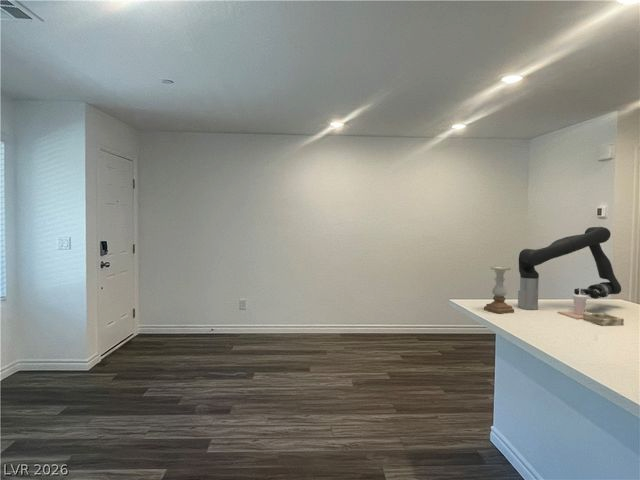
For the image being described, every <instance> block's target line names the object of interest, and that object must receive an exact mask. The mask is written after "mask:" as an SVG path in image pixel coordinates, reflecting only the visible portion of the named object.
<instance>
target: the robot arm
mask: <svg viewBox="0 0 640 480" xmlns="http://www.w3.org/2000/svg"><path fill="white" fill-rule="evenodd" d="M610 238H611V231H610V230H609V228H607V227H604V226H593V227H592V226H591V227H588V228H586V230H585V231H584V233H582V234H575V235H569V236H566V237H562V238H559V239H556V240H555V241H553V242H552V243H550V244H549V245H547V246H546V247H541V248H536V249H533V248H532V249H531V248H524V249H522V250H521V251H519V254H518V273H519V275H520V277H519V280H520V281H519V282H520V283H519V290H517V292H518V293H517V307H518V308H520V309H523V310H538V309H539V283H540V282H539V281H540V280H539V279H540V278H539V276H540V275H539V272H538V271H537V270H536V268H535V267H536V266H539V265H541V264H543V263H546V262H547V261H550V260H553V259H556V258H559V257H562V256H567V255H569V254H572V253H575V252H577V251H580V250H582V249H586V248H587V247H588V248H589V250H590V252H591V255H592V257H593V260H594V262H595V265H596V268H597V269H596V270H597V273H598V277H599V279H602V280H606V281H605V282H599V283H596V284H591V285H589V286H588V287H587V288H581V291H580V295H585V296H587V297H590V298H591V299H593V300H597V299H601V298H607V297H608V296H610V295H619V294H620V293H621V292H622V286H621V284H620V282H619V281H618V279H617V277H616V275H615V274H614V270H613V267H612V262H611V260H610V259H609V258H608V256H607V255H606V253H605V252H604V250H603V249H602V247H601V244H604V243H606V242H607V241H609V239H610ZM573 295H579V288H574V294H573Z"/></svg>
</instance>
